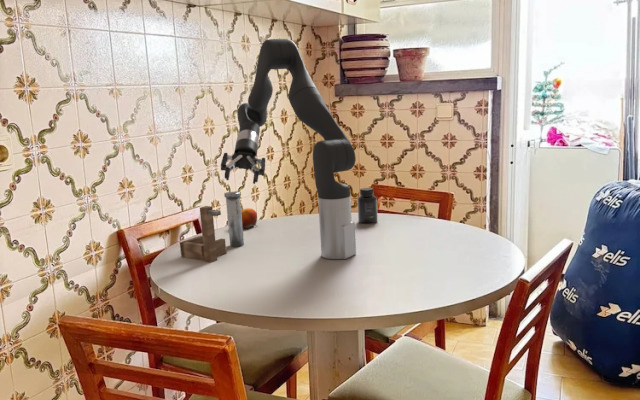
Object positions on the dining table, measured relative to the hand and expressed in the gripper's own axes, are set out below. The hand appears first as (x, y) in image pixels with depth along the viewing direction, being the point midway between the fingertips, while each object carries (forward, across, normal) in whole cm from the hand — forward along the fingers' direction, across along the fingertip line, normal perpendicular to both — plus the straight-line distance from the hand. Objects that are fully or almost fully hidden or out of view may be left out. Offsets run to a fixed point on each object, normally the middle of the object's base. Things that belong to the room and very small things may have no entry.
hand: (240, 180), depth 179 cm
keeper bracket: (+25, -6, +9) cm, 27 cm away
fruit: (-5, +3, +30) cm, 30 cm away
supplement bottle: (-5, +46, +19) cm, 50 cm away
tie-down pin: (+15, +1, +14) cm, 21 cm away
